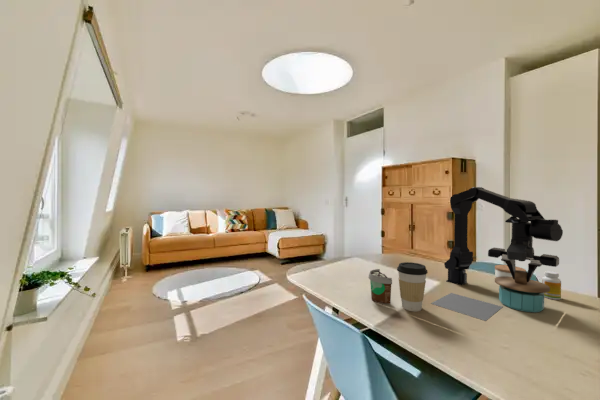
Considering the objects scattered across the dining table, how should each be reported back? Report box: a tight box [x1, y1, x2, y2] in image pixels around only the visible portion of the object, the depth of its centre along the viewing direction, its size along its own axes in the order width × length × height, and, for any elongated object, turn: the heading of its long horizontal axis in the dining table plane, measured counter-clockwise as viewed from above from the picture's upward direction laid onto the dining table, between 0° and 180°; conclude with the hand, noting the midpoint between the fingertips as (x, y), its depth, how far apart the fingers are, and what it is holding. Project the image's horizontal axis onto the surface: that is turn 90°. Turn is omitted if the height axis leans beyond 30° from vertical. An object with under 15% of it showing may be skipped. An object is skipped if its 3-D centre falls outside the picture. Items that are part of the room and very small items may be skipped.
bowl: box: [498, 285, 545, 313], centre depth 95 cm, size 12×12×6 cm
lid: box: [494, 270, 550, 293], centre depth 95 cm, size 15×15×5 cm
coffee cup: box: [396, 261, 429, 312], centre depth 93 cm, size 10×10×15 cm
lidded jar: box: [494, 264, 527, 278], centre depth 117 cm, size 11×11×9 cm
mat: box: [430, 292, 503, 322], centre depth 95 cm, size 17×17×1 cm
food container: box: [368, 268, 393, 305], centre depth 101 cm, size 12×6×10 cm, turn 5°
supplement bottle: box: [541, 270, 562, 301], centre depth 104 cm, size 5×5×10 cm
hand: (520, 280), depth 95 cm, fingers closed on lid, 3 cm apart
